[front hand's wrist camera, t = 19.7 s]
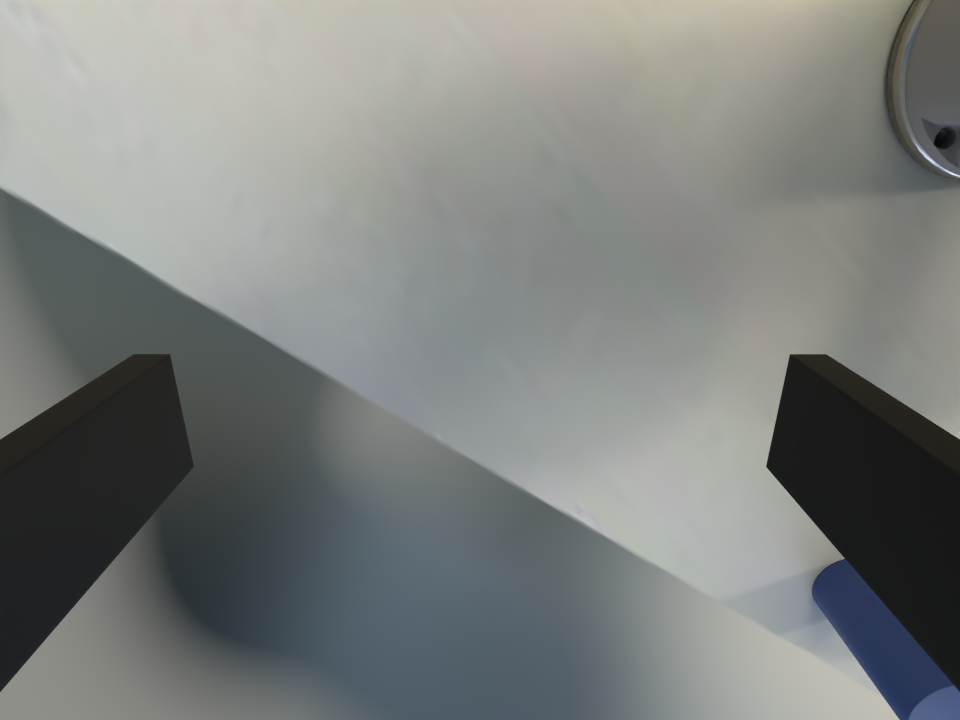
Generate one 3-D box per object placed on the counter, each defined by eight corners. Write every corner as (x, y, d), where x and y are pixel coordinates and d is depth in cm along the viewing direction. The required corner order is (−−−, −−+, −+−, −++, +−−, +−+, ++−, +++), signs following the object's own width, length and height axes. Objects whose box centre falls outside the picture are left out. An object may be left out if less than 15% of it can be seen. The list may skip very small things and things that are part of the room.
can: (875, 611, 55) (986, 746, 43) (806, 613, 55) (898, 748, 43) (891, 556, 52) (1013, 683, 40) (819, 558, 52) (920, 684, 40)
